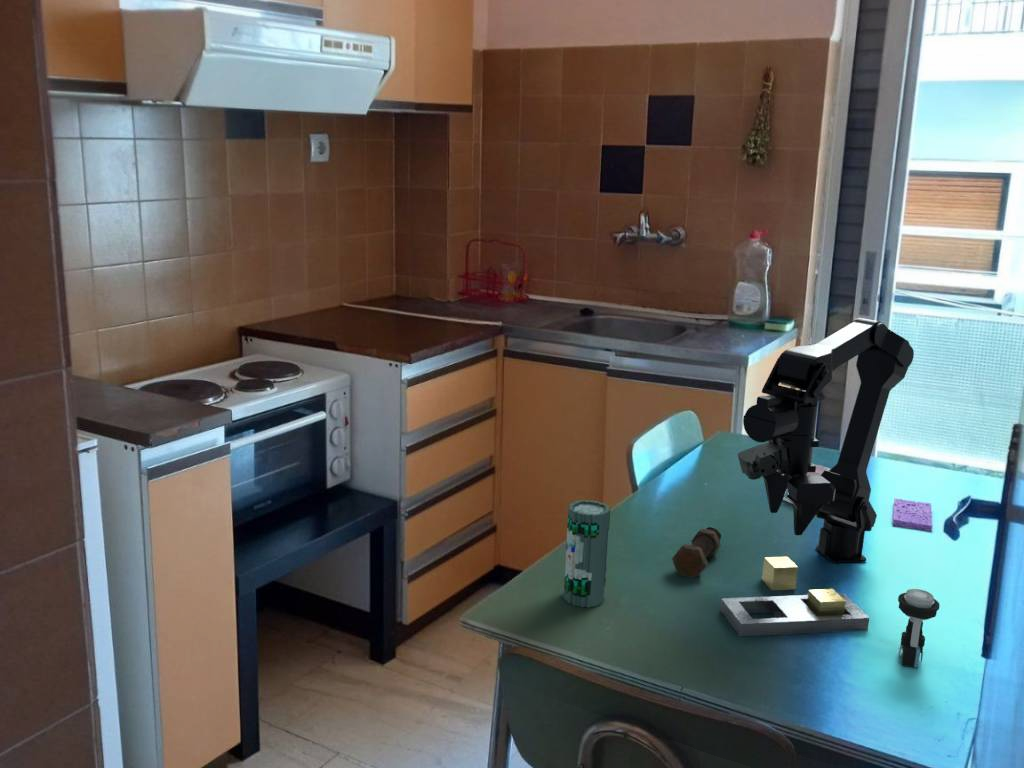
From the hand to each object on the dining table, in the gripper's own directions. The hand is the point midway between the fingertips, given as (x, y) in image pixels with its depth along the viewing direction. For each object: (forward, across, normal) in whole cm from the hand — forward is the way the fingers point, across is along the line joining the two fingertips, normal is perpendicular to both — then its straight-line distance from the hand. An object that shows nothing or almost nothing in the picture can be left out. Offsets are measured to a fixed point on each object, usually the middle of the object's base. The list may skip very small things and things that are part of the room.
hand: (785, 523), depth 158 cm
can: (+11, +2, -33) cm, 35 cm away
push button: (+11, +24, +9) cm, 28 cm away
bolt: (+11, -10, -10) cm, 18 cm away
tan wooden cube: (+11, +12, +2) cm, 16 cm away
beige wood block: (+11, 0, 0) cm, 11 cm away
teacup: (+11, -38, +23) cm, 45 cm away
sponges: (+12, -26, +39) cm, 48 cm away
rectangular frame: (+10, +12, -3) cm, 16 cm away
